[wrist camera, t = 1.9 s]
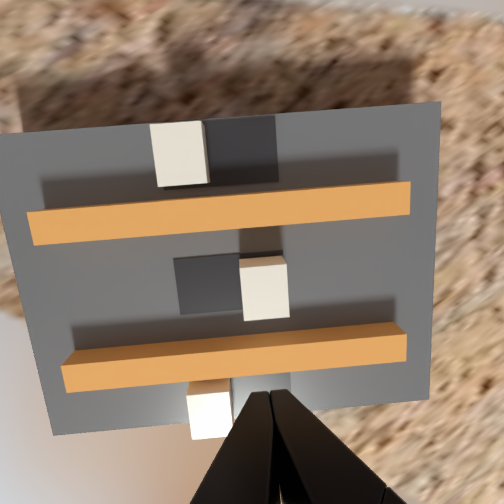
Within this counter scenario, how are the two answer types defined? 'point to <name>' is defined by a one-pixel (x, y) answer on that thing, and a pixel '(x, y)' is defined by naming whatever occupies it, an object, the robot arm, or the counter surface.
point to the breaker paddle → (264, 288)
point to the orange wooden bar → (234, 356)
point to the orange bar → (219, 212)
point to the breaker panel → (224, 255)
